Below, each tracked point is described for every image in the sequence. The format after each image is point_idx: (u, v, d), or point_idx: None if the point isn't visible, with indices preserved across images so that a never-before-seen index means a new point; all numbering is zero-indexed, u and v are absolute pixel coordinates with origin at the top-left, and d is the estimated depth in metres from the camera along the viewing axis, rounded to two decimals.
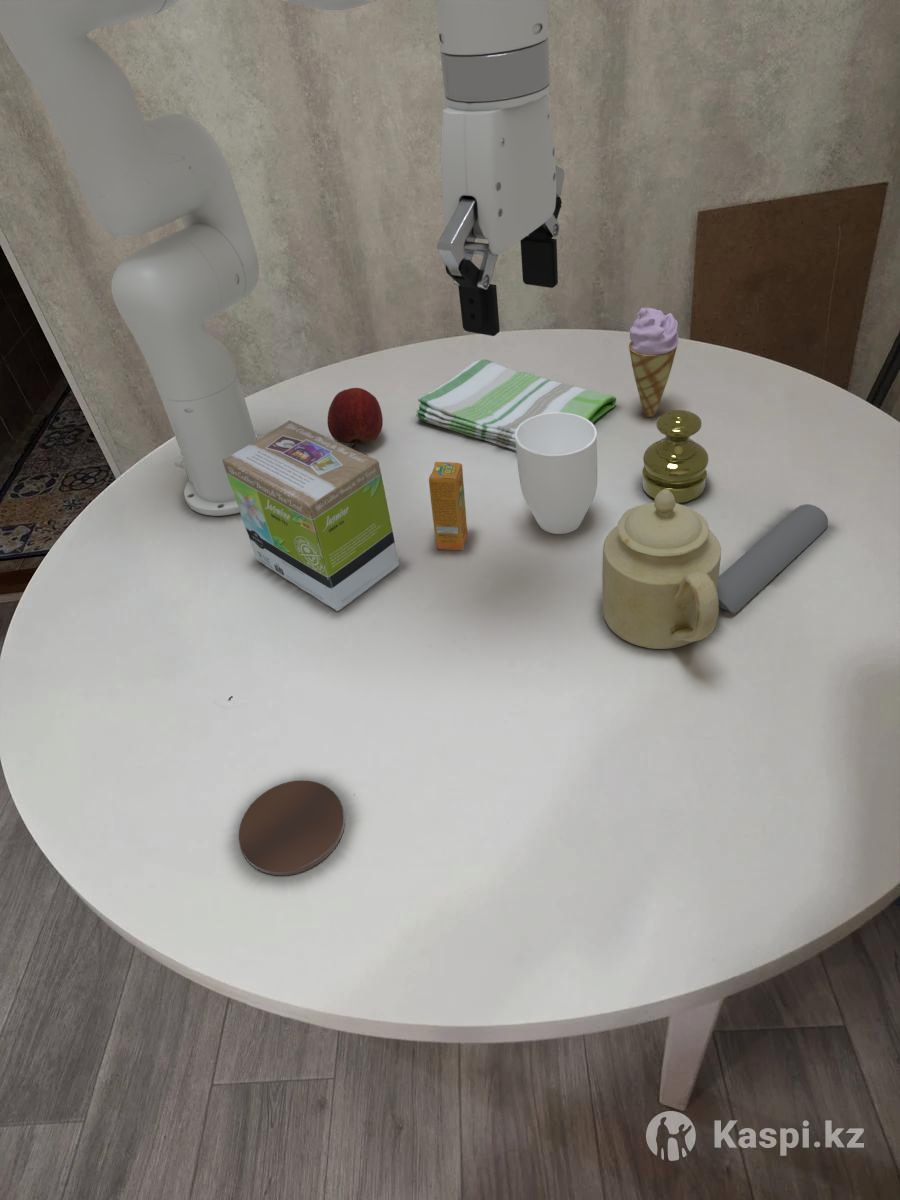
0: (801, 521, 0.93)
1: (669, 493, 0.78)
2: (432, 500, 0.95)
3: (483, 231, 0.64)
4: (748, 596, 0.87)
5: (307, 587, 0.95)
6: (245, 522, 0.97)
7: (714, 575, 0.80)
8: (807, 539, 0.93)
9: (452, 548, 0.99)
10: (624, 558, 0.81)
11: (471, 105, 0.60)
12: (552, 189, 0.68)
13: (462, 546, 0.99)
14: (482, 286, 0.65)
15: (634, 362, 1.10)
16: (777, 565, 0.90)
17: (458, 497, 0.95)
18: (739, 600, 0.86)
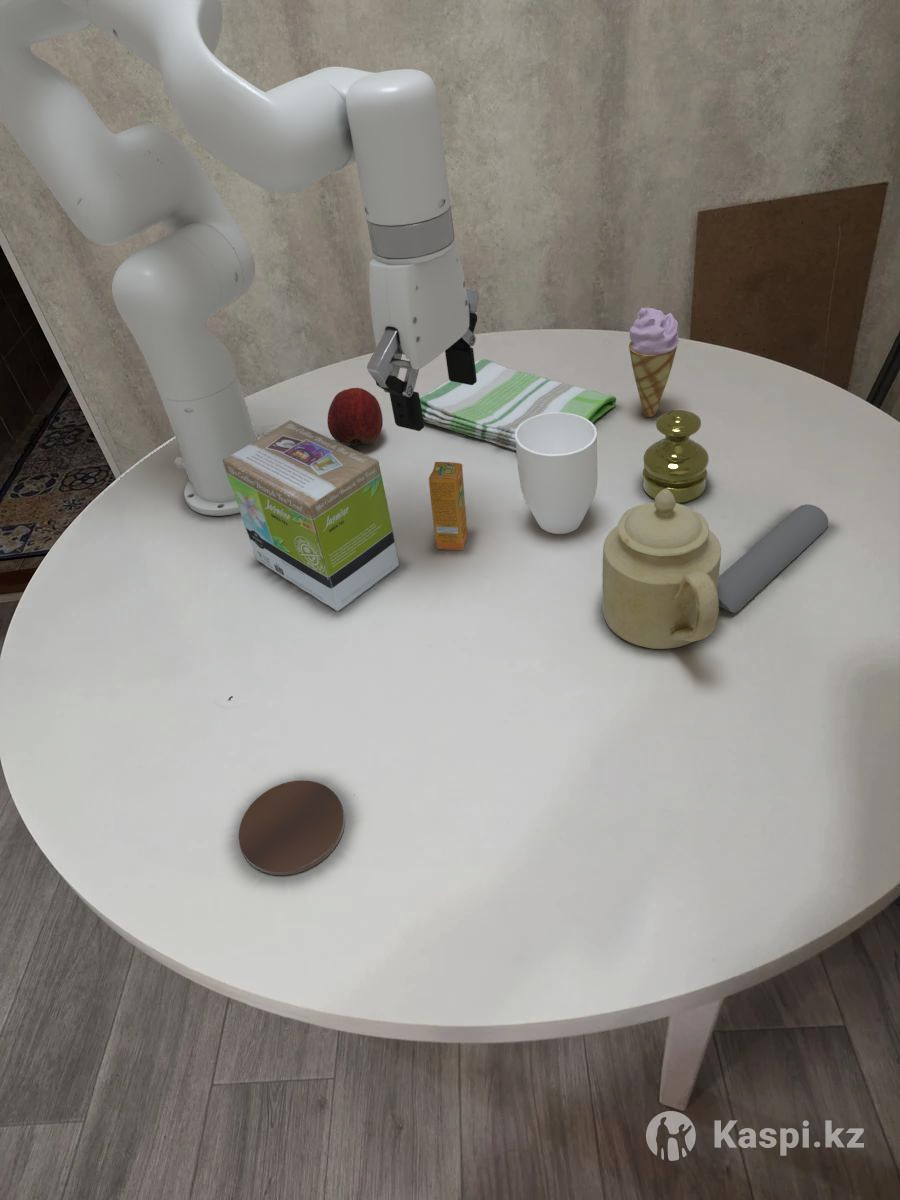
0: (801, 521, 0.93)
1: (669, 493, 0.78)
2: (432, 500, 0.95)
3: (405, 353, 0.80)
4: (748, 596, 0.87)
5: (307, 587, 0.95)
6: (245, 522, 0.97)
7: (714, 575, 0.80)
8: (807, 539, 0.93)
9: (452, 548, 0.99)
10: (624, 558, 0.81)
11: (390, 260, 0.76)
12: (465, 312, 0.84)
13: (462, 546, 0.99)
14: (406, 395, 0.81)
15: (634, 362, 1.10)
16: (777, 565, 0.90)
17: (458, 497, 0.95)
18: (739, 600, 0.86)
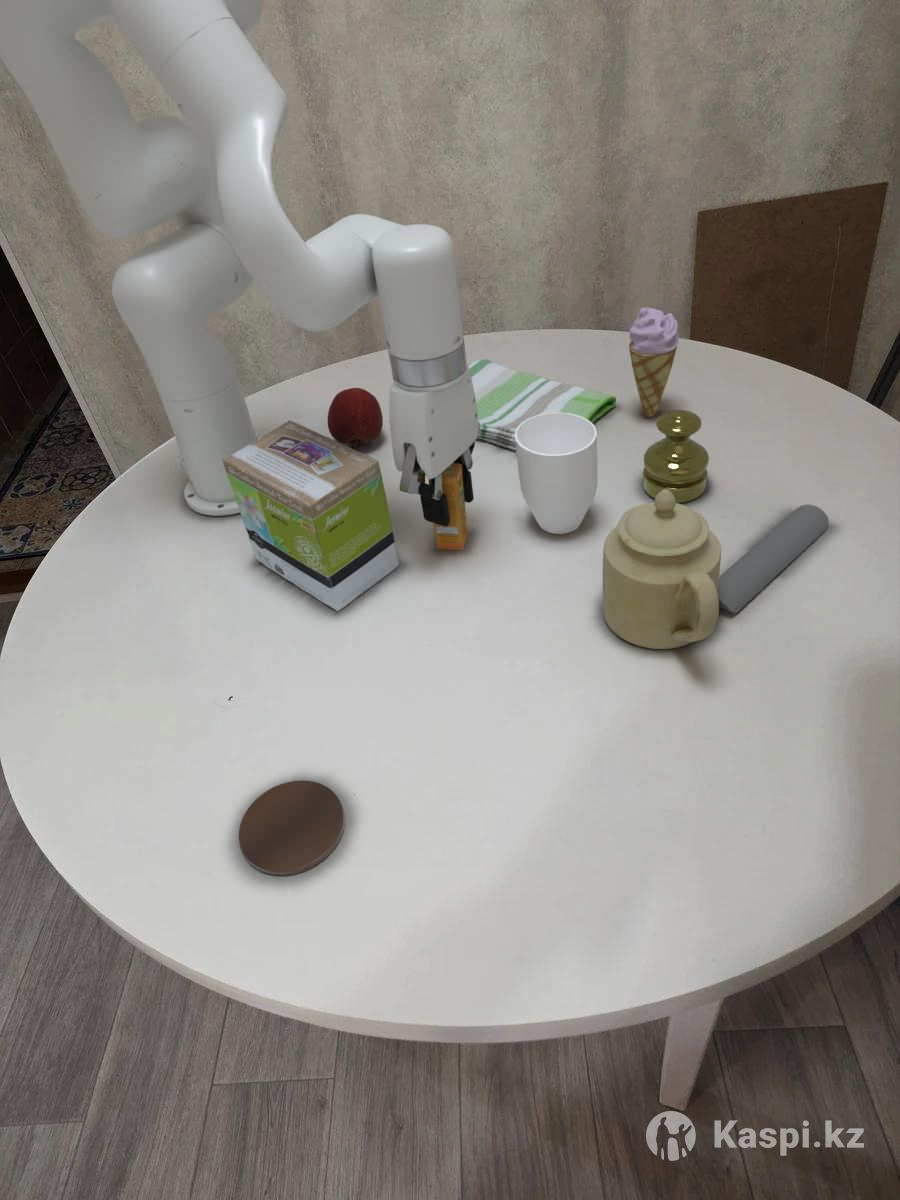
0: (801, 522, 0.93)
1: (669, 493, 0.78)
2: None
3: (421, 466, 0.88)
4: (748, 596, 0.87)
5: (307, 587, 0.95)
6: (245, 522, 0.97)
7: (714, 575, 0.80)
8: (807, 539, 0.92)
9: (452, 548, 0.99)
10: (624, 558, 0.81)
11: (409, 387, 0.84)
12: (475, 423, 0.92)
13: (462, 546, 0.99)
14: (437, 499, 0.92)
15: (634, 362, 1.10)
16: (777, 565, 0.90)
17: (458, 497, 0.95)
18: (740, 600, 0.86)
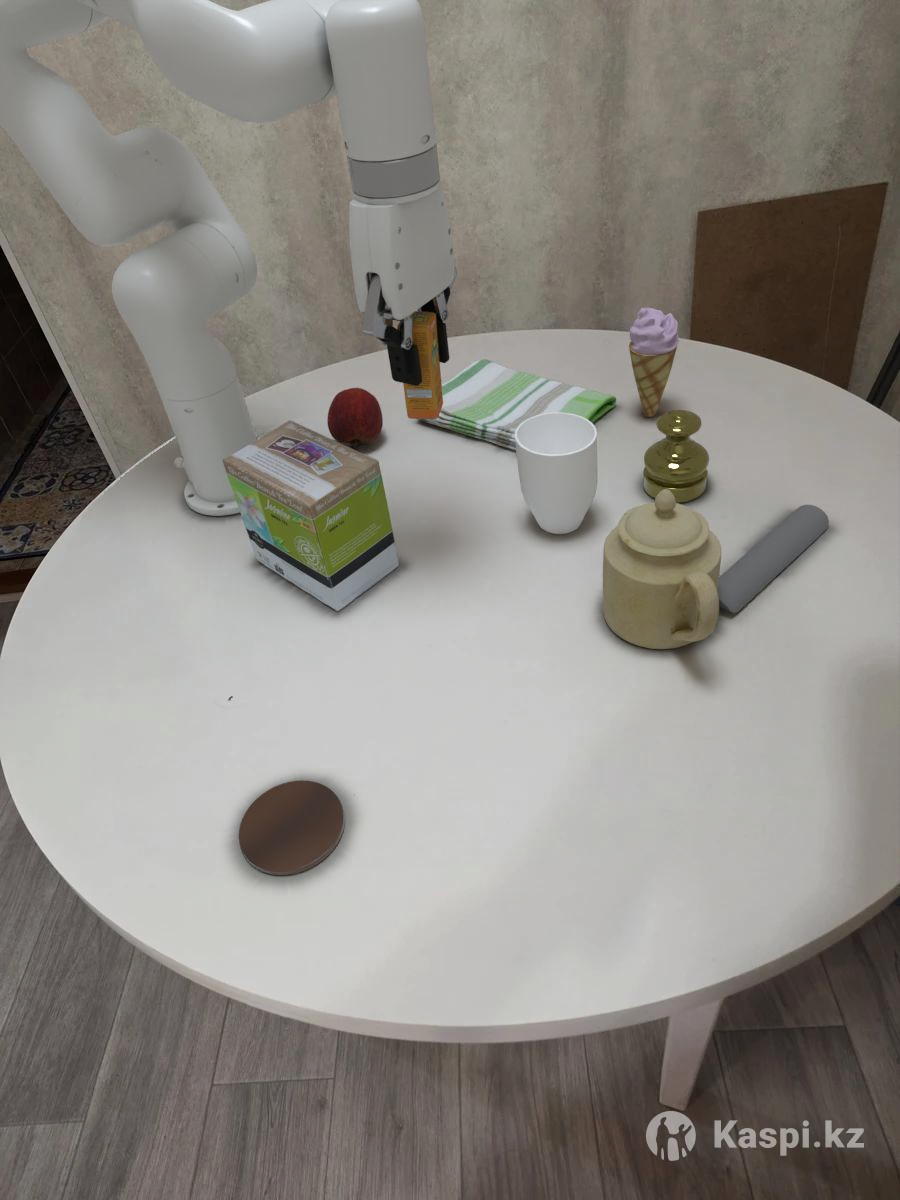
0: (801, 522, 0.93)
1: (669, 493, 0.78)
2: None
3: (386, 301, 0.75)
4: (749, 596, 0.87)
5: (307, 587, 0.95)
6: (245, 522, 0.97)
7: (714, 575, 0.80)
8: (808, 539, 0.92)
9: (425, 417, 0.87)
10: (624, 558, 0.81)
11: (372, 199, 0.71)
12: (450, 262, 0.80)
13: (436, 414, 0.86)
14: (406, 348, 0.80)
15: (634, 362, 1.10)
16: (778, 565, 0.90)
17: (431, 351, 0.82)
18: (740, 600, 0.86)
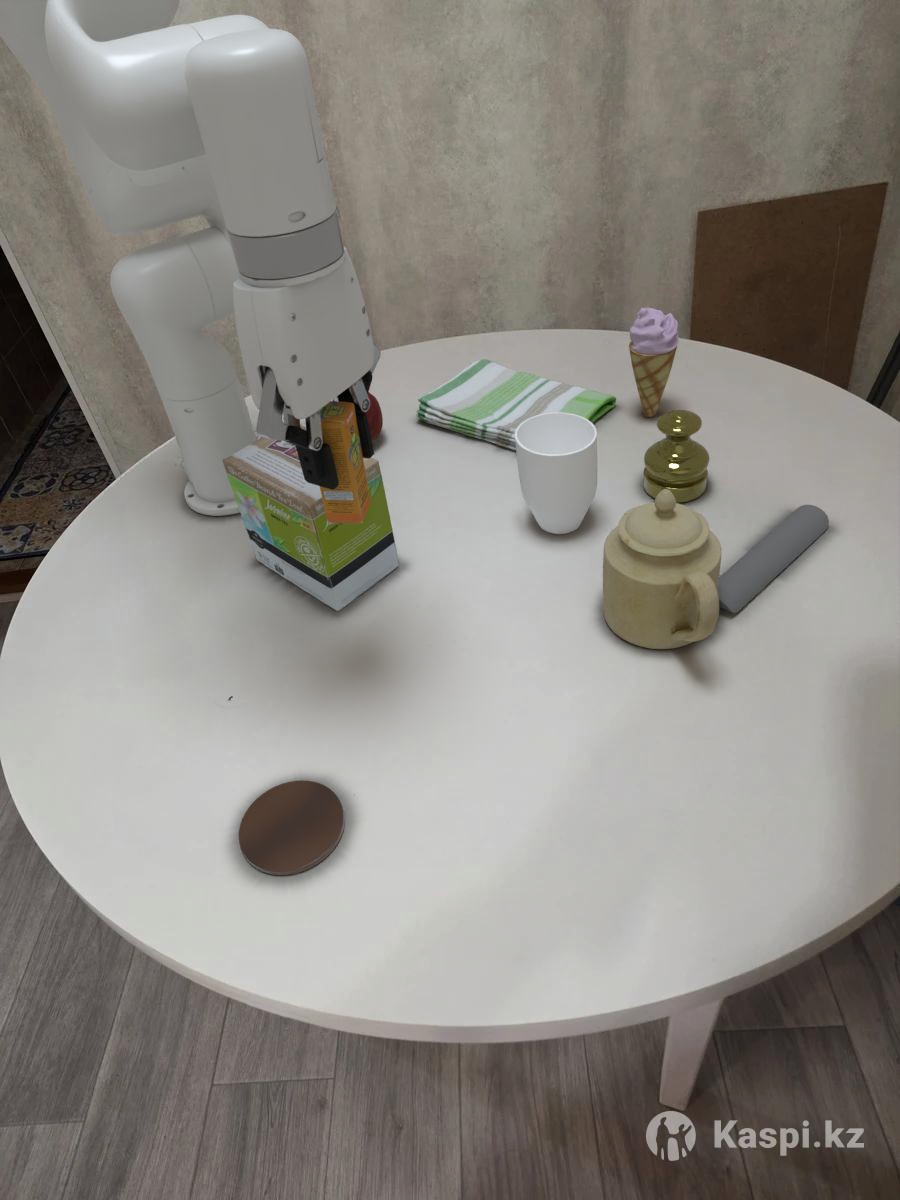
0: (801, 522, 0.93)
1: (670, 493, 0.78)
2: None
3: (284, 399, 0.62)
4: (749, 596, 0.87)
5: (307, 587, 0.95)
6: (245, 522, 0.97)
7: (715, 575, 0.80)
8: (808, 539, 0.92)
9: (348, 521, 0.73)
10: (624, 558, 0.81)
11: (258, 281, 0.58)
12: (367, 345, 0.67)
13: (361, 518, 0.73)
14: (315, 450, 0.66)
15: (634, 362, 1.10)
16: (778, 565, 0.90)
17: (349, 449, 0.69)
18: (740, 600, 0.86)
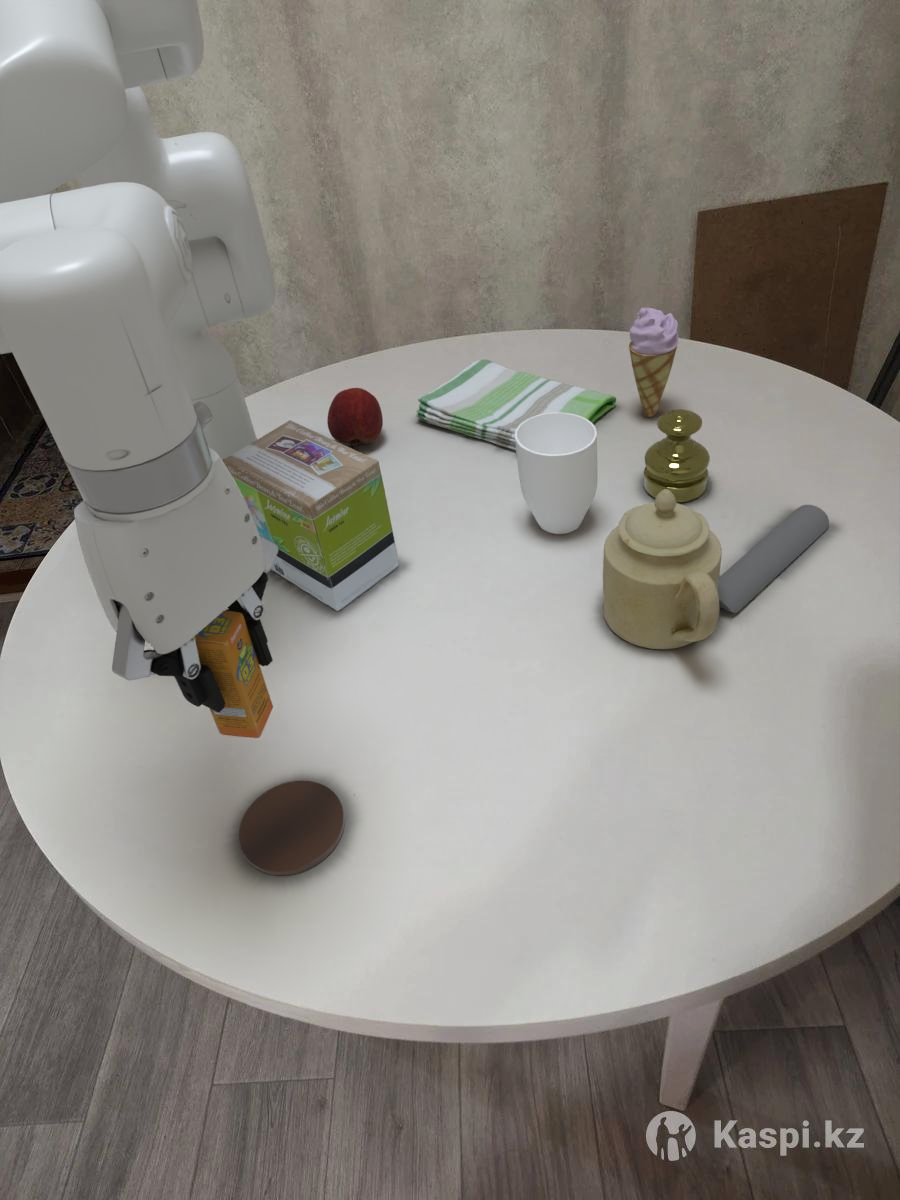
0: (801, 522, 0.93)
1: (670, 493, 0.78)
2: None
3: (143, 636, 0.52)
4: (749, 596, 0.87)
5: (307, 587, 0.95)
6: None
7: (715, 575, 0.80)
8: (808, 539, 0.92)
9: (243, 735, 0.63)
10: (624, 558, 0.81)
11: (100, 512, 0.48)
12: (255, 553, 0.56)
13: (257, 733, 0.63)
14: (190, 678, 0.56)
15: (634, 362, 1.10)
16: (778, 565, 0.90)
17: (236, 668, 0.58)
18: (740, 600, 0.86)
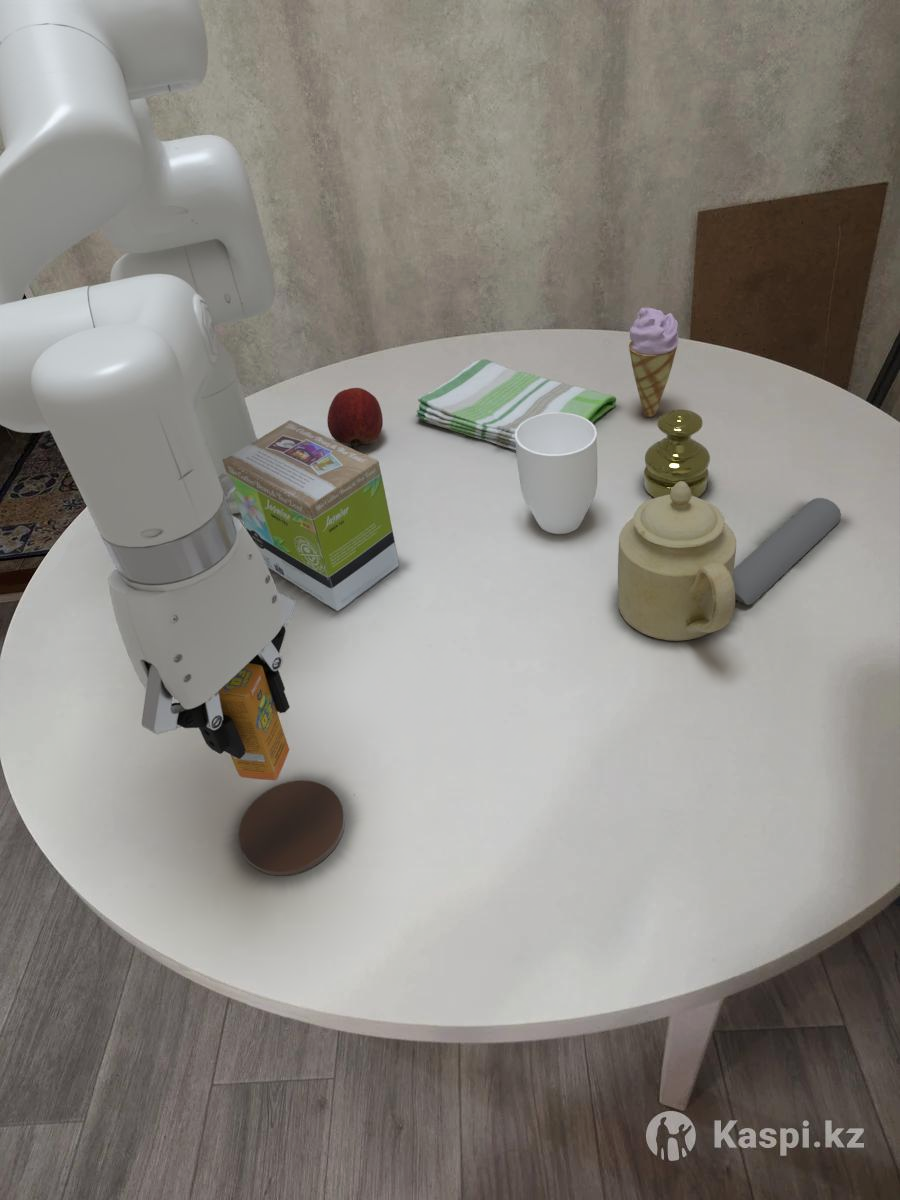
0: (814, 515, 0.94)
1: (685, 485, 0.79)
2: None
3: (171, 693, 0.55)
4: (763, 588, 0.88)
5: (307, 587, 0.95)
6: (245, 522, 0.97)
7: (730, 567, 0.81)
8: (820, 532, 0.93)
9: (261, 778, 0.66)
10: (640, 550, 0.81)
11: (133, 582, 0.51)
12: (274, 611, 0.60)
13: (275, 776, 0.66)
14: (214, 729, 0.59)
15: (634, 362, 1.10)
16: (791, 558, 0.90)
17: (256, 717, 0.62)
18: (754, 592, 0.87)
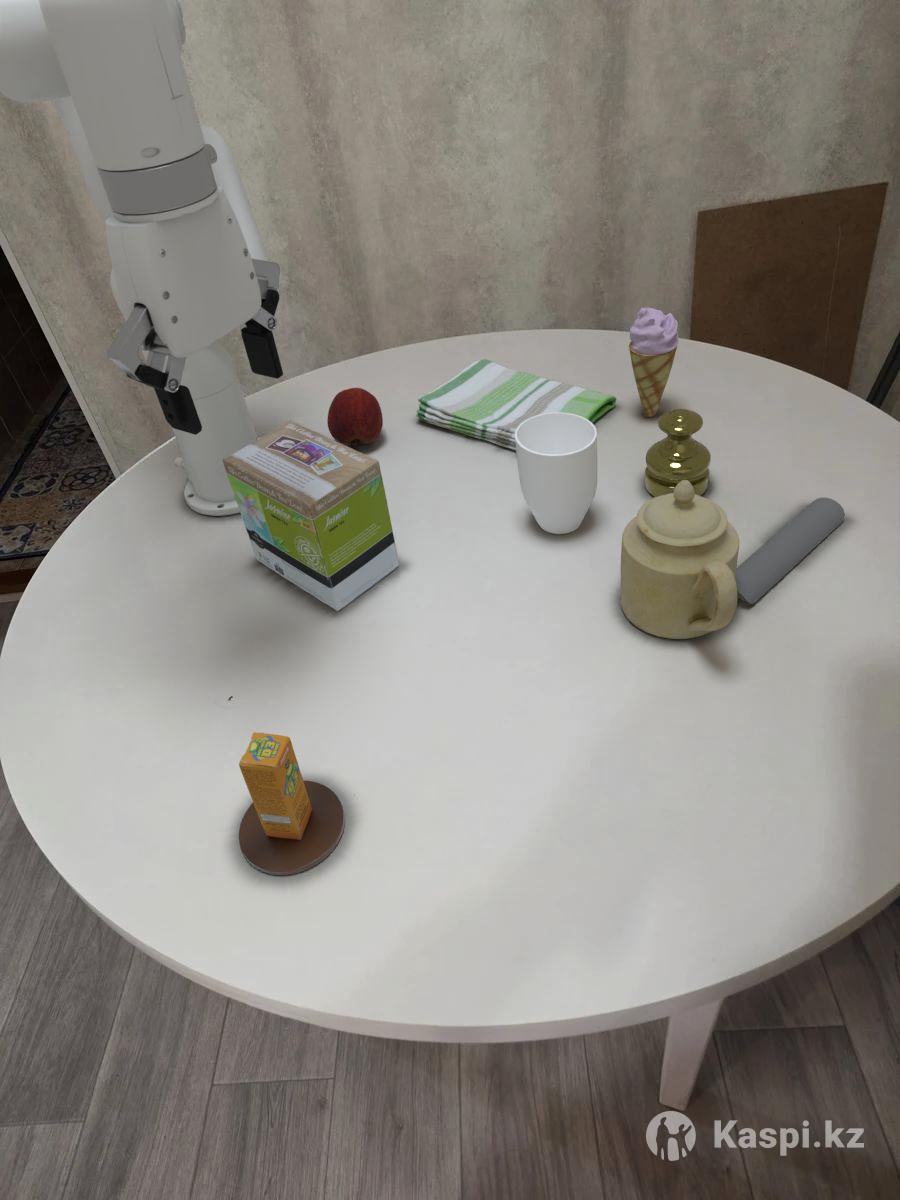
0: (817, 514, 0.94)
1: (688, 484, 0.79)
2: (249, 787, 0.68)
3: (160, 337, 0.63)
4: (765, 587, 0.88)
5: (307, 587, 0.95)
6: (245, 522, 0.97)
7: (732, 566, 0.81)
8: (824, 532, 0.93)
9: (287, 837, 0.72)
10: (643, 549, 0.81)
11: (127, 217, 0.59)
12: (252, 288, 0.68)
13: (299, 836, 0.72)
14: (168, 390, 0.65)
15: (634, 362, 1.10)
16: (794, 557, 0.90)
17: (284, 785, 0.67)
18: (757, 591, 0.87)
